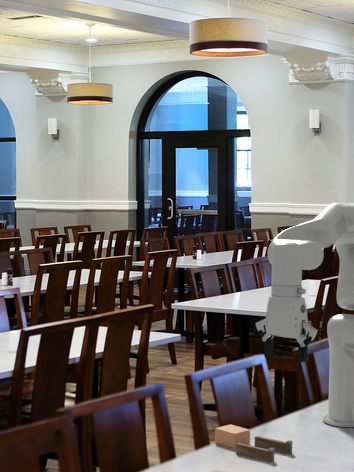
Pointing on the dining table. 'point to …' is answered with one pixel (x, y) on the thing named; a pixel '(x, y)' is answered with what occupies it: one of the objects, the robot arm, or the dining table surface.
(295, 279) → the robot arm
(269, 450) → the brown wooden rail pair
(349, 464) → the dining table surface
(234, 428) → the light orange block
